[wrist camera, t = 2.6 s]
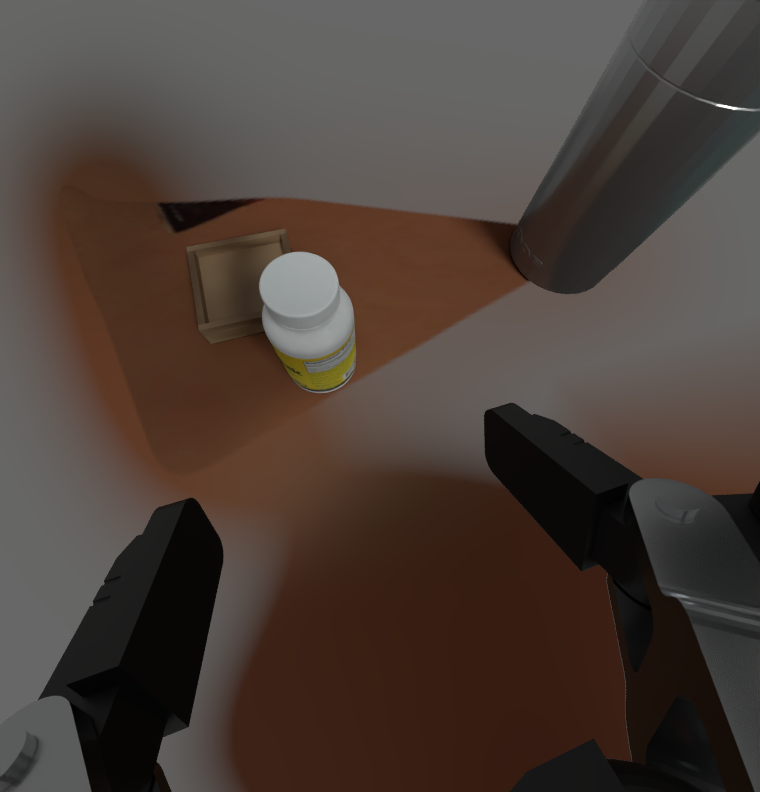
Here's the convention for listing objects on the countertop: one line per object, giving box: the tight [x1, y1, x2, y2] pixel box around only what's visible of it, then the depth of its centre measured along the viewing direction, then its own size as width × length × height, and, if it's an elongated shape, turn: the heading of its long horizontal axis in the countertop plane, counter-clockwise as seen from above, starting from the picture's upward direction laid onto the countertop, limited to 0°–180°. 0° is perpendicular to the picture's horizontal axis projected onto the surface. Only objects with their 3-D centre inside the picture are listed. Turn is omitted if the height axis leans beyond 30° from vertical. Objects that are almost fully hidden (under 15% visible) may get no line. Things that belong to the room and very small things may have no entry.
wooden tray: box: [186, 229, 292, 344], centre depth 26 cm, size 8×8×2 cm
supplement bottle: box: [259, 252, 356, 393], centre depth 21 cm, size 5×5×10 cm
